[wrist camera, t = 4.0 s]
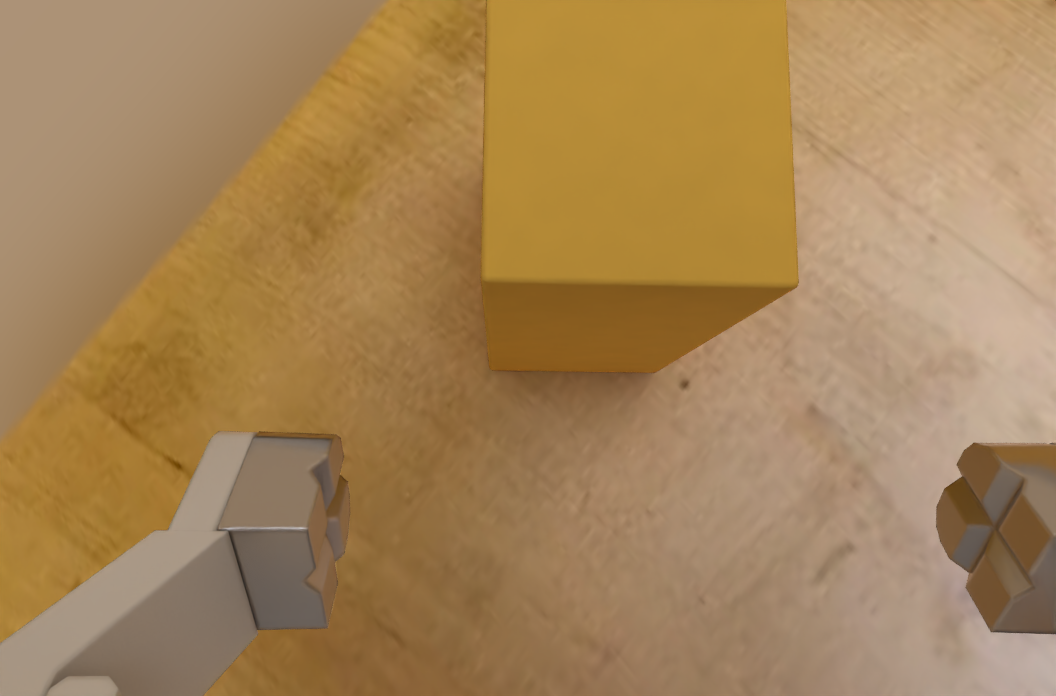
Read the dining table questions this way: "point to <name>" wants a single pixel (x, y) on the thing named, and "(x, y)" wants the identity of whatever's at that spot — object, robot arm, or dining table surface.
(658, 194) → the yellow rectangular block
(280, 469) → the robot arm
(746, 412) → the dining table surface
